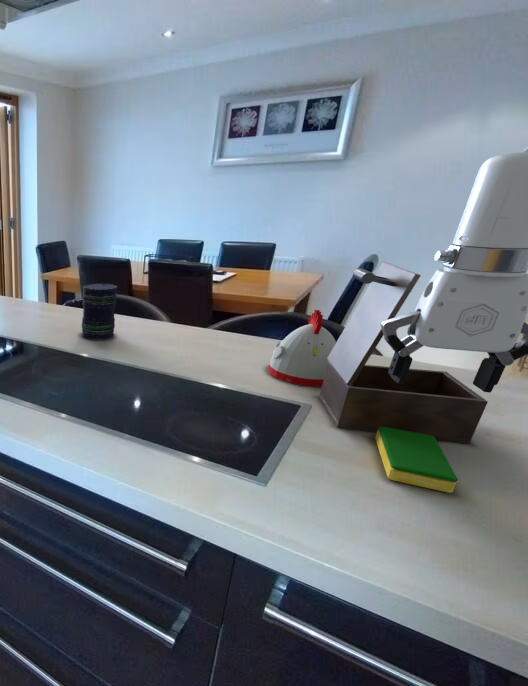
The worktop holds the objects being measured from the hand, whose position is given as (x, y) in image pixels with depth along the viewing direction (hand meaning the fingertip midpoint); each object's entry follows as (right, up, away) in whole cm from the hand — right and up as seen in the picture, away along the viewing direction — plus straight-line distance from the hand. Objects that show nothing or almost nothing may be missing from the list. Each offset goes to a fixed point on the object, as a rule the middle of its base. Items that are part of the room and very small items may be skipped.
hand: (437, 384), depth 63 cm
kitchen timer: (+6, +2, +39) cm, 39 cm away
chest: (+8, -6, +19) cm, 21 cm away
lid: (+2, +11, +14) cm, 18 cm away
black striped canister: (-35, +15, +71) cm, 81 cm away
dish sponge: (+1, -12, +5) cm, 14 cm away
